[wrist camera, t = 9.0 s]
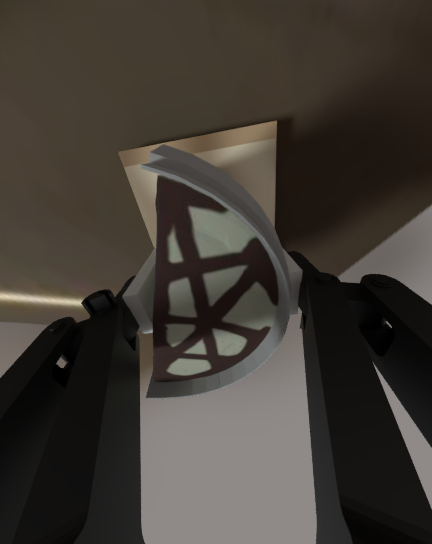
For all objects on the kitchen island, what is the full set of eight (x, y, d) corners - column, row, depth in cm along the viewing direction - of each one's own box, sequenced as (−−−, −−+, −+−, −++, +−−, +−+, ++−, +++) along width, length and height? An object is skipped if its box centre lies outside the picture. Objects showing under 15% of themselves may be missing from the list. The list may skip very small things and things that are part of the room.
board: (178, 297, 23) (176, 306, 21) (128, 153, 15) (118, 152, 13) (269, 284, 22) (273, 293, 21) (269, 125, 14) (276, 120, 12)
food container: (231, 300, 19) (248, 408, 11) (175, 292, 18) (145, 403, 10) (272, 175, 13) (395, 197, 4) (189, 155, 12) (139, 134, 4)
